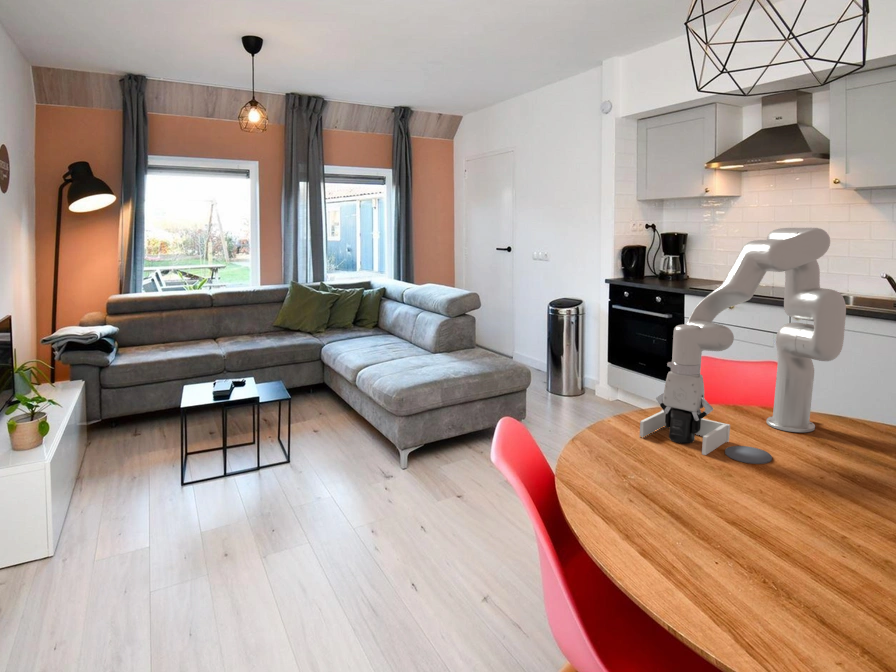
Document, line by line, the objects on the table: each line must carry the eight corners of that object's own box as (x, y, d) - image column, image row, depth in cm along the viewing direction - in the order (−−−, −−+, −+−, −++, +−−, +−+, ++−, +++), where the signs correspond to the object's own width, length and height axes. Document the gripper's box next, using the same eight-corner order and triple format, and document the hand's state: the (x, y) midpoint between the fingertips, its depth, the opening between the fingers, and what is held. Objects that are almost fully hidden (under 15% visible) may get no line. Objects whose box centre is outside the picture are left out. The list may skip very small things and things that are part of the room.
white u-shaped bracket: (661, 425, 175) (662, 409, 174) (728, 441, 160) (730, 424, 159) (637, 437, 165) (638, 420, 164) (707, 455, 150) (708, 437, 150)
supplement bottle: (699, 443, 159) (702, 402, 157) (676, 445, 158) (679, 403, 156) (686, 435, 166) (688, 395, 164) (664, 436, 165) (666, 396, 163)
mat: (734, 444, 158) (734, 442, 158) (777, 455, 150) (777, 453, 150) (718, 455, 150) (718, 453, 150) (763, 467, 142) (763, 465, 142)
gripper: (650, 366, 162) (647, 425, 165) (711, 376, 149) (707, 440, 153) (662, 361, 167) (659, 419, 170) (723, 371, 154) (718, 433, 158)
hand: (682, 429), depth 161 cm, fingers closed on supplement bottle, 6 cm apart
